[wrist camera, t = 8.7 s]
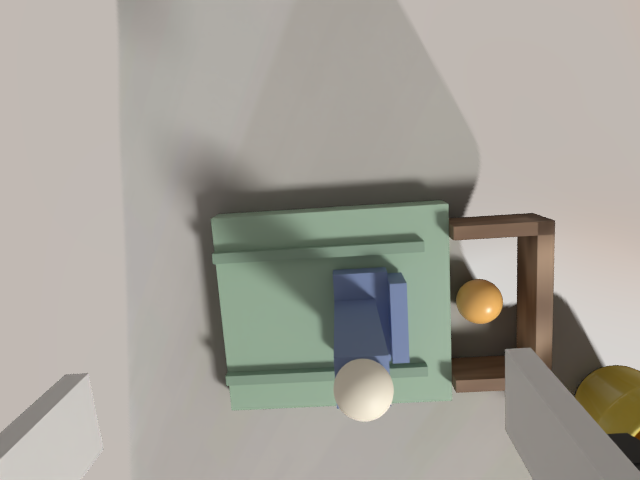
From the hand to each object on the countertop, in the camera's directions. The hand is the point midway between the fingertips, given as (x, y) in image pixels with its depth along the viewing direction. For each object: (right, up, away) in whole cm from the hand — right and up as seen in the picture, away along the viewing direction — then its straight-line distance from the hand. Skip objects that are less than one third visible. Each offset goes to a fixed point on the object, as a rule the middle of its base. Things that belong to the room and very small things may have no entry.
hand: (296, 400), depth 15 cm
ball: (+13, 0, +23) cm, 27 cm away
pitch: (+2, 0, +26) cm, 26 cm away
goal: (+15, +1, +25) cm, 29 cm away
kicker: (+4, -1, +23) cm, 23 cm away
